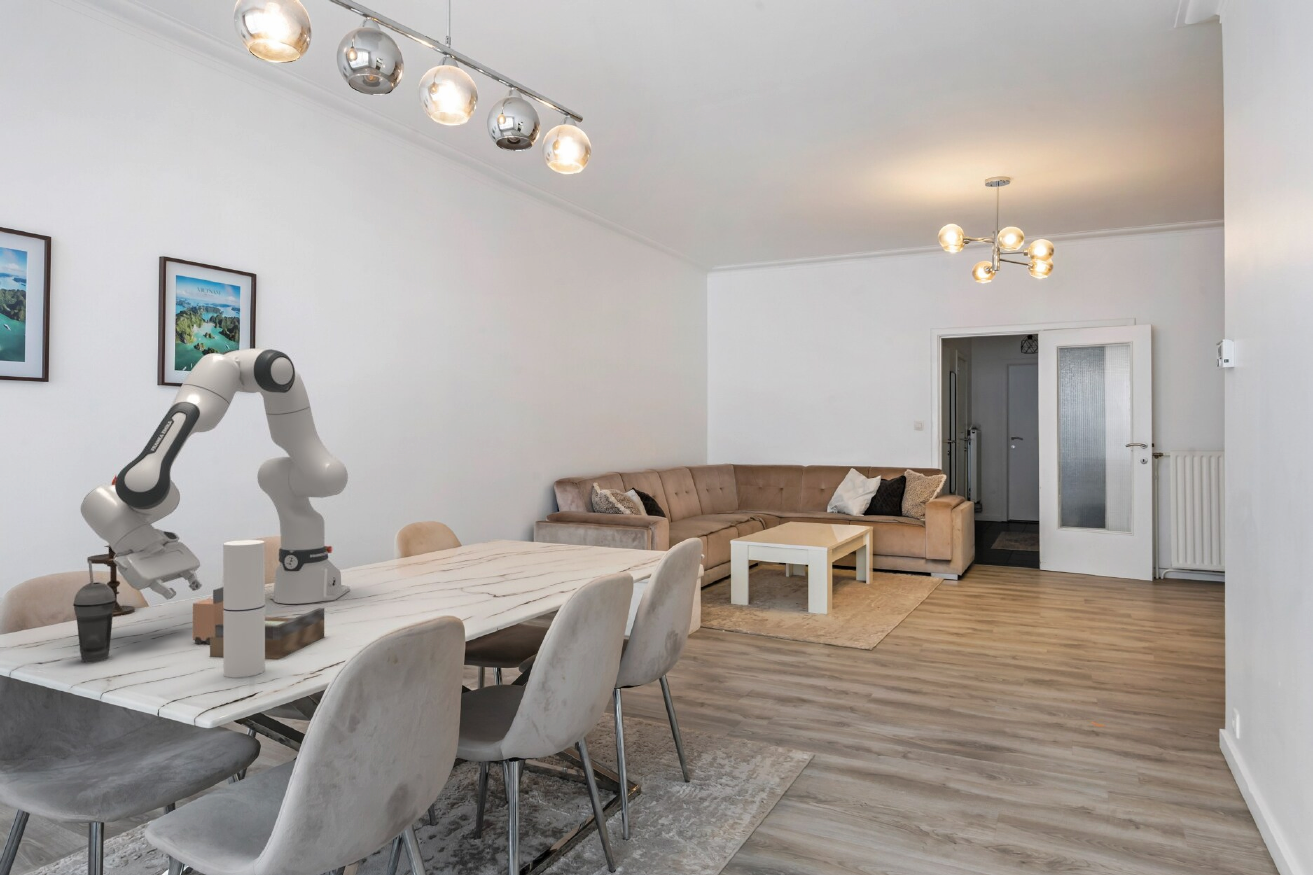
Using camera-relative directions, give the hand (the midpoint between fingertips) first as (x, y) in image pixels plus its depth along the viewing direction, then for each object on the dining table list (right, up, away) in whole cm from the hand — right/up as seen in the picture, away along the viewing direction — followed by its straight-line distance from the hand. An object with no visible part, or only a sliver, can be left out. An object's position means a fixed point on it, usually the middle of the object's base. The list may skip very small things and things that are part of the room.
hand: (185, 592), depth 180 cm
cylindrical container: (+24, -11, -22) cm, 35 cm away
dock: (+20, -11, -4) cm, 23 cm away
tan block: (+6, -11, 0) cm, 12 cm away
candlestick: (-34, -10, +27) cm, 44 cm away
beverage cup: (-10, -11, -14) cm, 21 cm away
